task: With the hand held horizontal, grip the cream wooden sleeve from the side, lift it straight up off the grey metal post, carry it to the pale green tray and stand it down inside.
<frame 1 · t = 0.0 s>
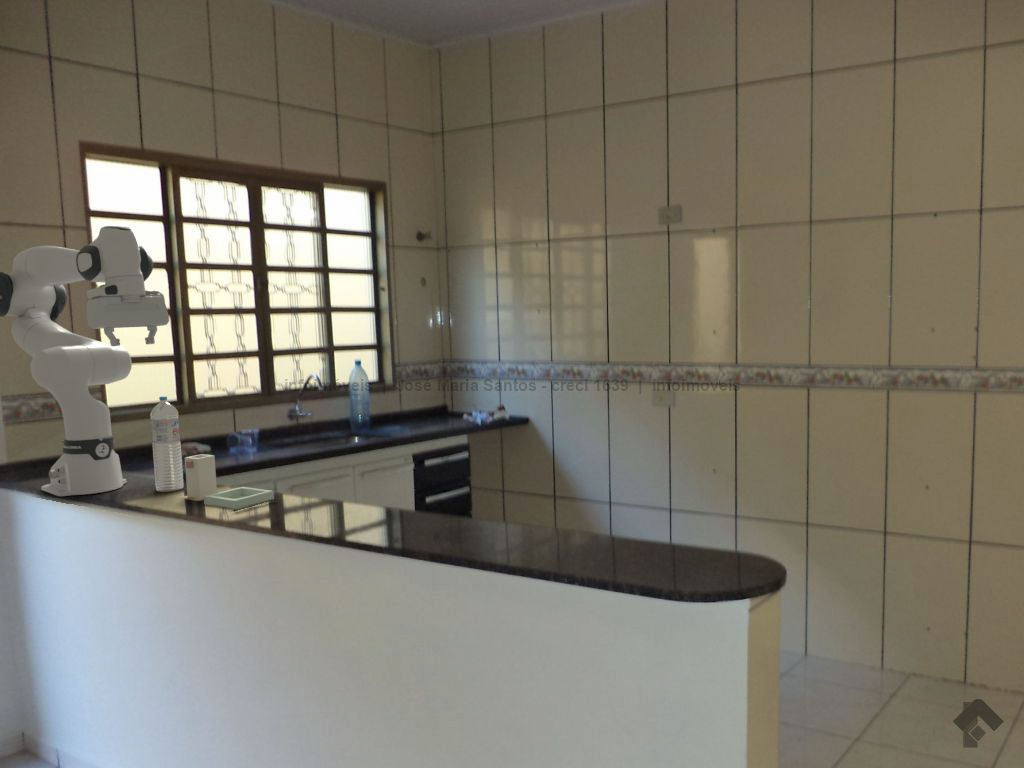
hand: (133, 345, 209), 39 cm above the counter, tool pointing down, fingers open, 8 cm apart
water bottle: (170, 491, 220), on the counter
sleeve: (202, 495, 209), point 1 cm above the counter, touching stand
tray: (239, 503, 202), on the counter
stand: (202, 498, 209), on the counter
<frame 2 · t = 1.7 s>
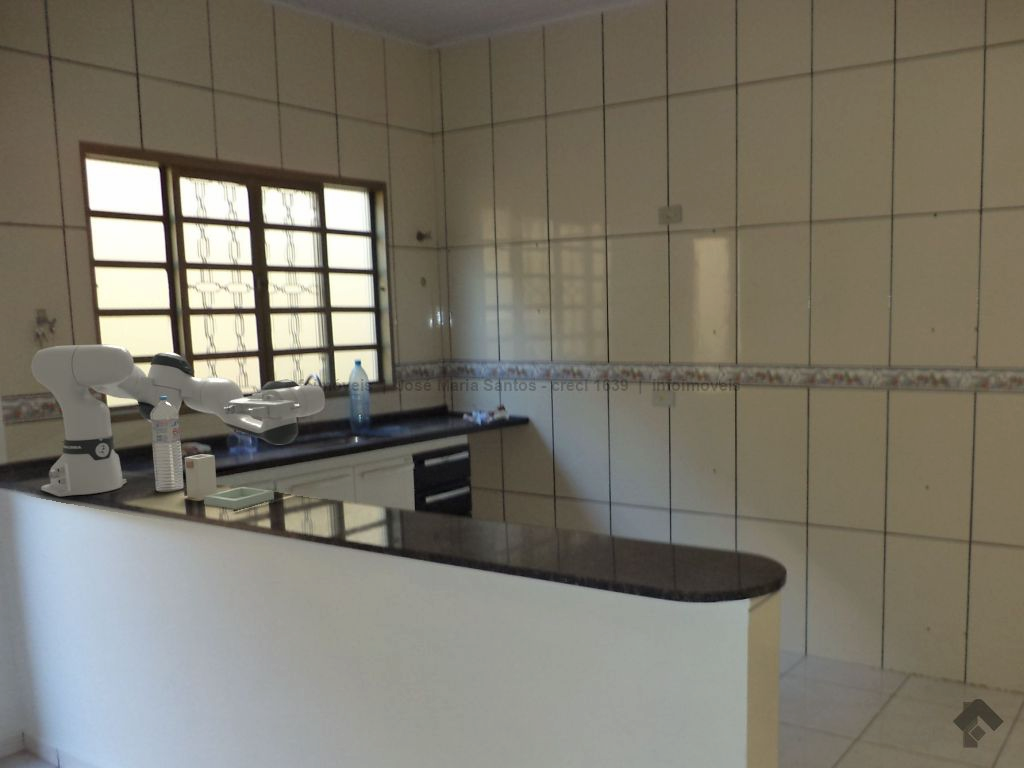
hand: (237, 411, 218), 20 cm above the counter, tool horizontal, fingers open, 8 cm apart
nothing on the counter moved.
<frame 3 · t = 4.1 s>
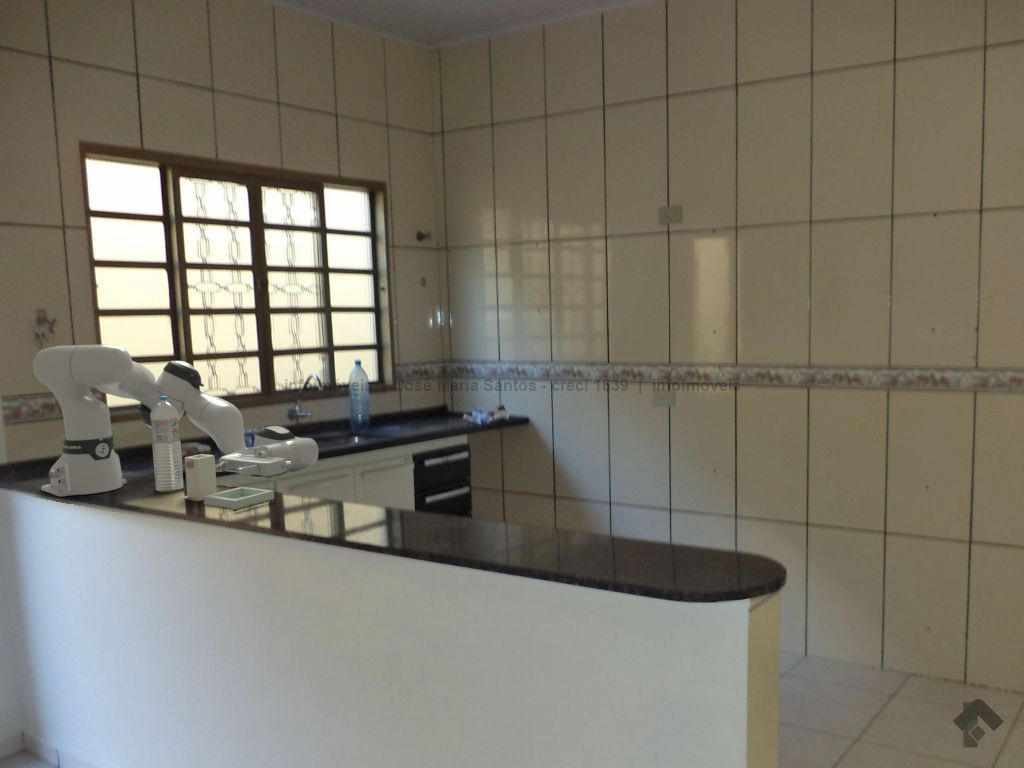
hand: (227, 470, 215), 6 cm above the counter, tool horizontal, fingers open, 8 cm apart
nothing on the counter moved.
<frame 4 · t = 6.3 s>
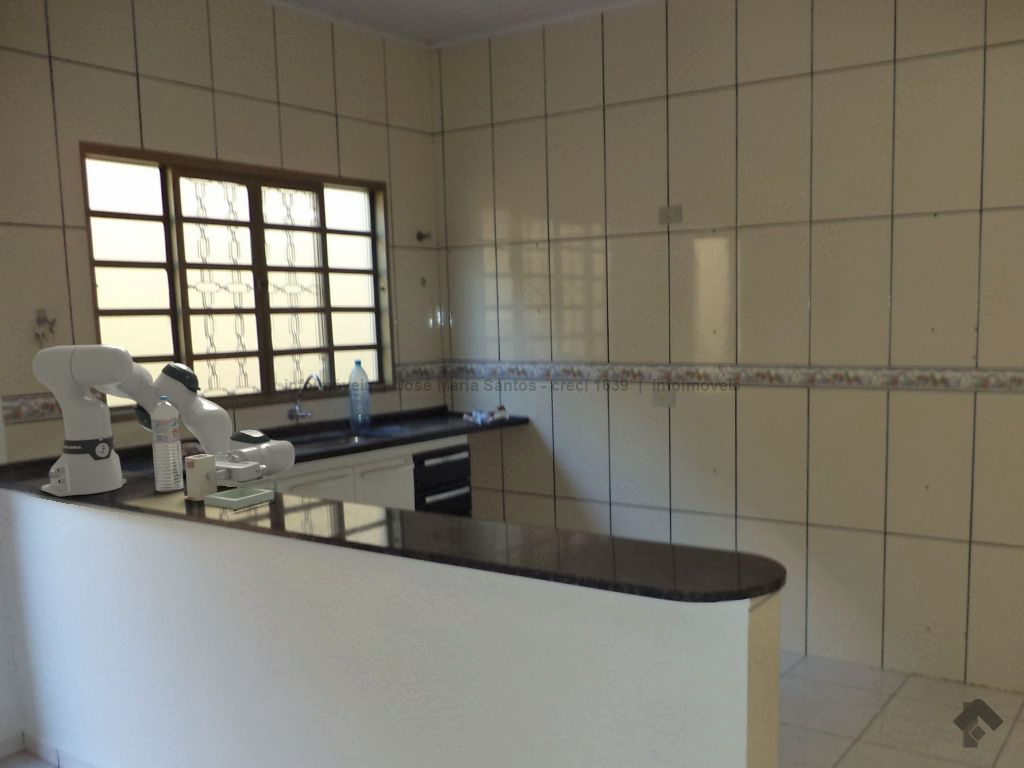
hand: (199, 476, 209), 6 cm above the counter, tool horizontal, fingers closed on sleeve, 5 cm apart
sleeve: (202, 495, 209), point 1 cm above the counter, touching gripper
everything else where it was.
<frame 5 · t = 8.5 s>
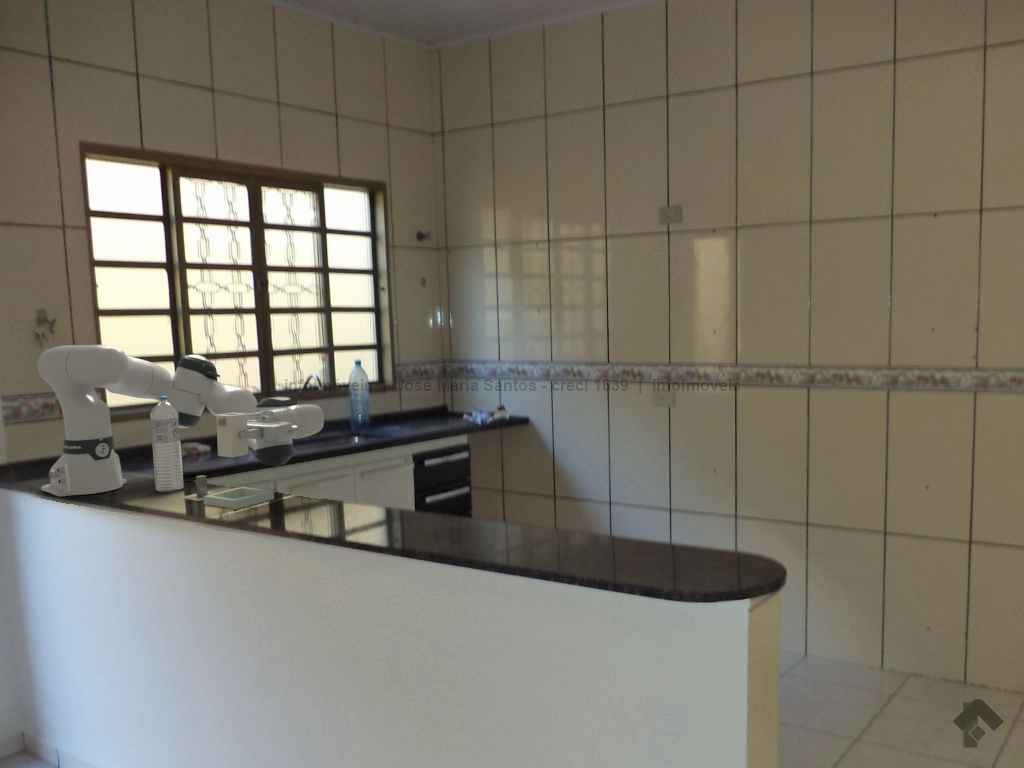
hand: (231, 434, 203), 17 cm above the counter, tool horizontal, fingers closed on sleeve, 5 cm apart
sleeve: (233, 455, 204), point 11 cm above the counter, touching gripper
everything else where it was.
when the fingers open (8 cm above the counter, at t = 11.0 s): sleeve drops 2 cm, resting on tray.
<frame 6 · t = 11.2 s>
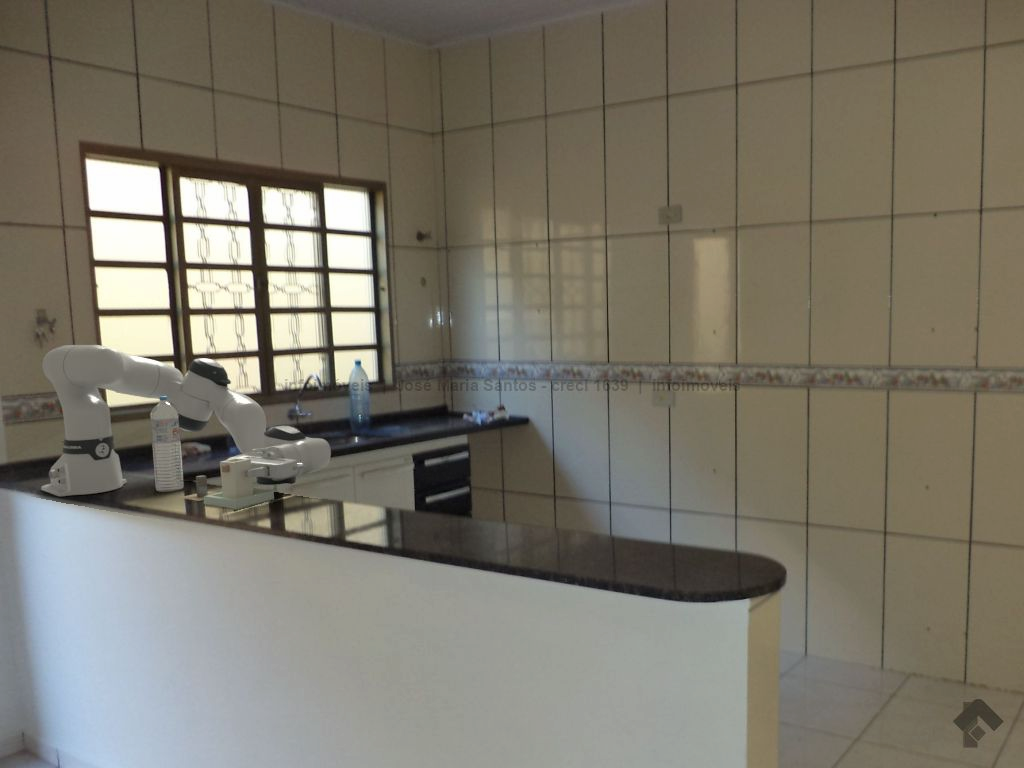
hand: (235, 472, 201), 8 cm above the counter, tool horizontal, fingers open, 7 cm apart
sleeve: (238, 501, 201), point 1 cm above the counter, touching tray
everything else where it was.
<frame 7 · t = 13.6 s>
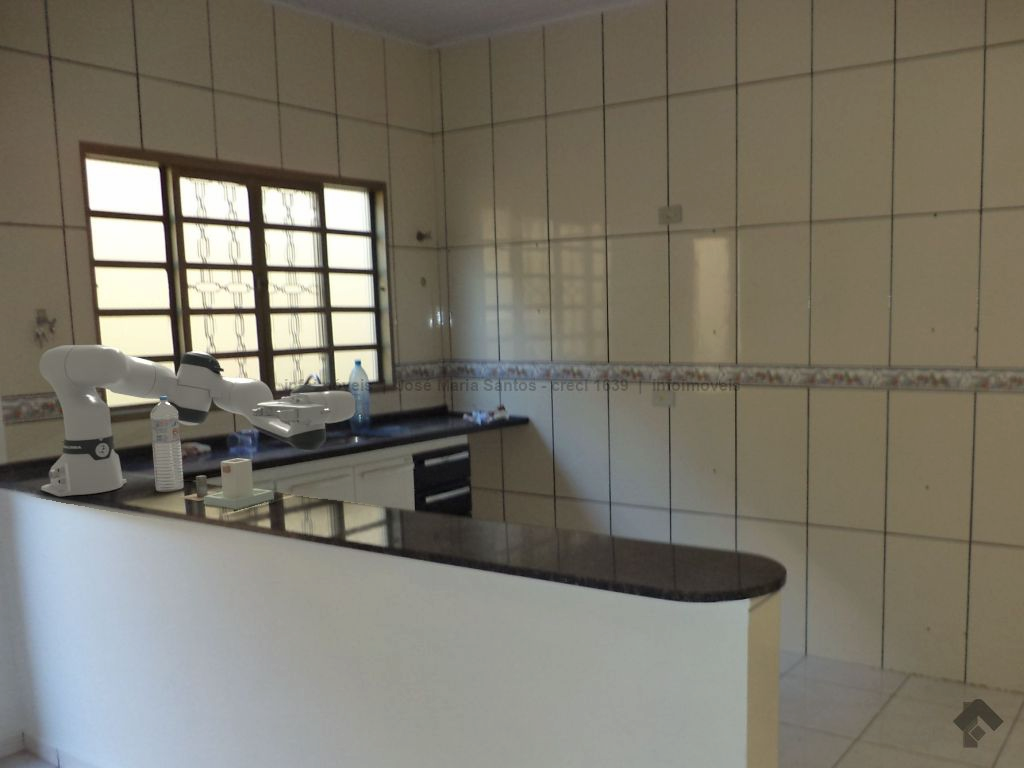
hand: (265, 414, 211), 20 cm above the counter, tool horizontal, fingers open, 8 cm apart
nothing on the counter moved.
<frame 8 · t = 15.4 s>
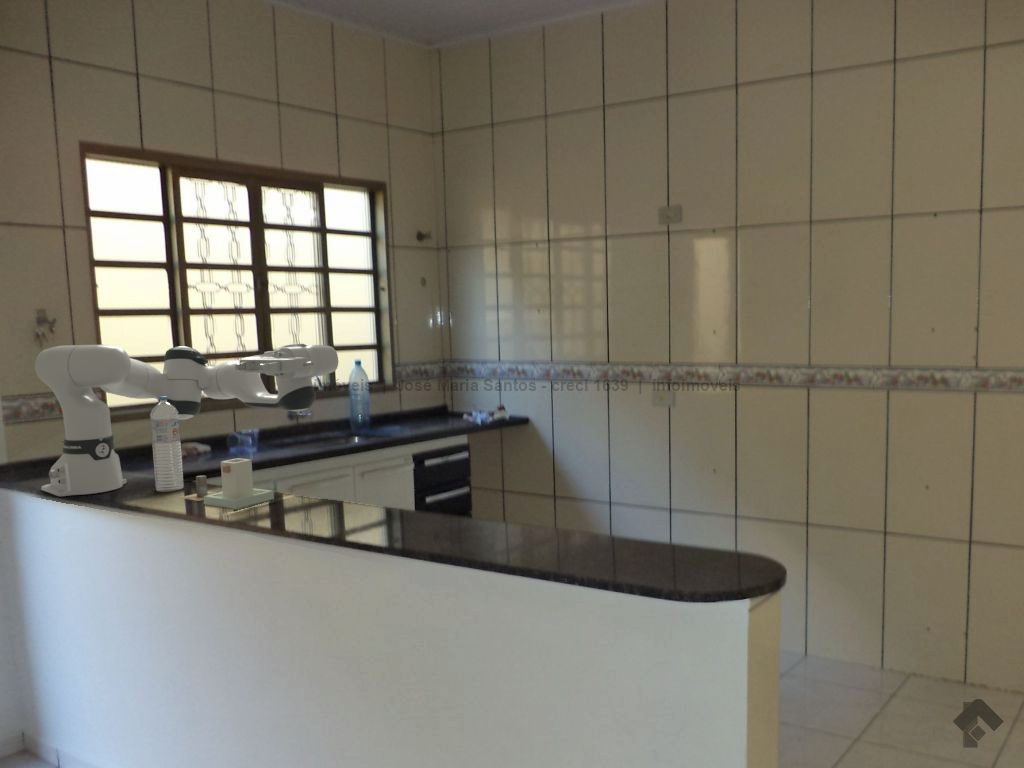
hand: (249, 367, 213), 32 cm above the counter, tool horizontal, fingers open, 8 cm apart
nothing on the counter moved.
at the end: sleeve inside the target area on the tray (0.4 cm from its centre), point 0.6 cm above the tray's base; sleeve tilted 0°; the gripper is holding nothing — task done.
